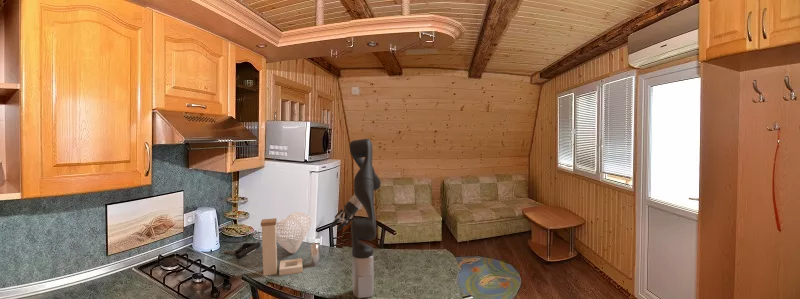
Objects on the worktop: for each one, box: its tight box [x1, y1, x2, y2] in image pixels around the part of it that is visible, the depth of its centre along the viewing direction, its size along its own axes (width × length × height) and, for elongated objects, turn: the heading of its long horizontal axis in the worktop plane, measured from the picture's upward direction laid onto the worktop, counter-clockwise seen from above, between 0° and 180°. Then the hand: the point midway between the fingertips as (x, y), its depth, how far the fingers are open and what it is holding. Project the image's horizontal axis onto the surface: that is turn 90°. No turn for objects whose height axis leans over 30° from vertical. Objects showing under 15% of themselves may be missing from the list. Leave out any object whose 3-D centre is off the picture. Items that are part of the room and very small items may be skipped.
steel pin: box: [310, 242, 320, 267], centre depth 169 cm, size 4×4×11 cm
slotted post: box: [260, 217, 304, 276], centre depth 161 cm, size 11×19×27 cm, turn 108°
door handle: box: [223, 241, 262, 260], centre depth 188 cm, size 3×20×16 cm
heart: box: [276, 211, 312, 254], centre depth 185 cm, size 28×16×22 cm, turn 173°
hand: (335, 228), depth 174 cm, fingers open, 8 cm apart
